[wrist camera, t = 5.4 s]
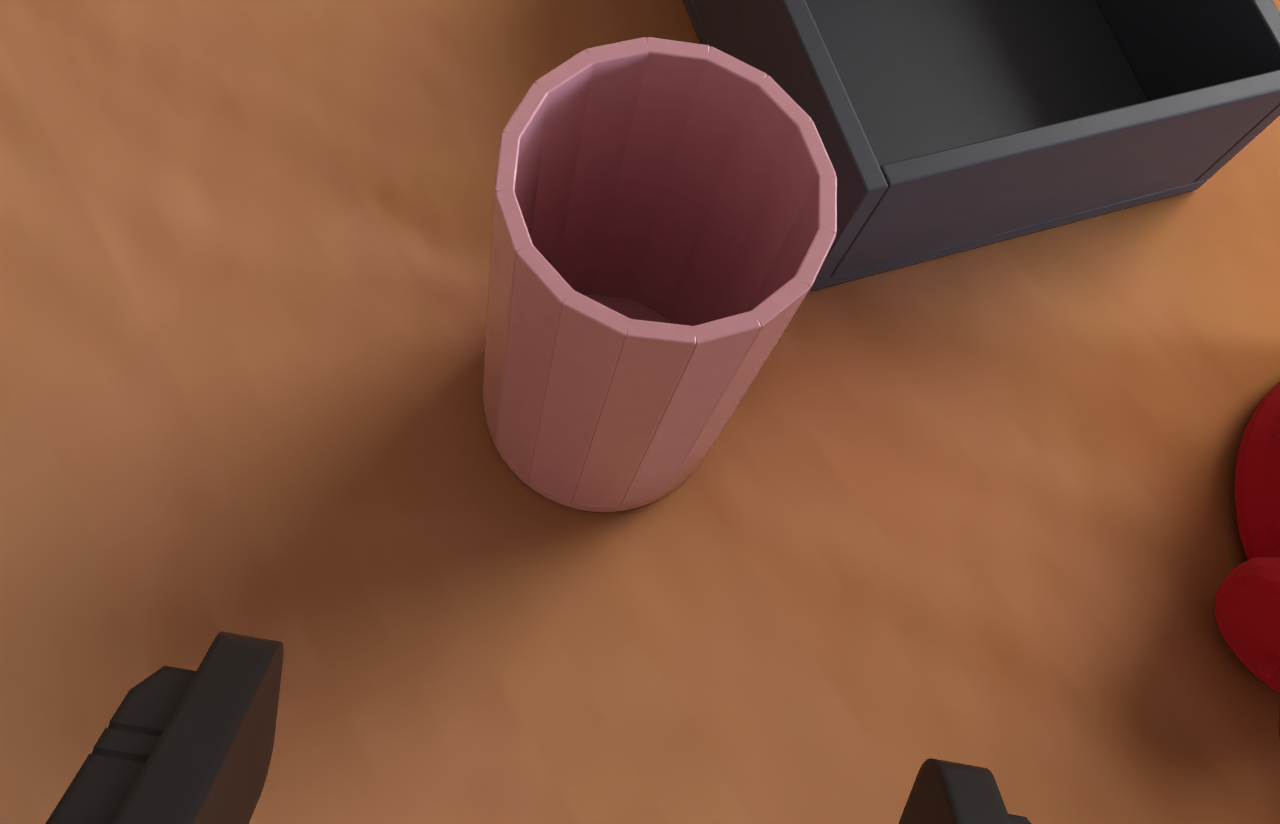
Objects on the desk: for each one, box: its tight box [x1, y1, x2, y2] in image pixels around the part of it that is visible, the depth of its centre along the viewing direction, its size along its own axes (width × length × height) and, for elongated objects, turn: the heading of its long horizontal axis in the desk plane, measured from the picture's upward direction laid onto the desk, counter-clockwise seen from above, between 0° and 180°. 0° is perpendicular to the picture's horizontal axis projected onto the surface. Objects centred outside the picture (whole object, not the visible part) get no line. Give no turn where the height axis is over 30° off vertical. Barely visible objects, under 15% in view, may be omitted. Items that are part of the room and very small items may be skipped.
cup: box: [482, 37, 837, 512], centre depth 27 cm, size 6×6×11 cm
